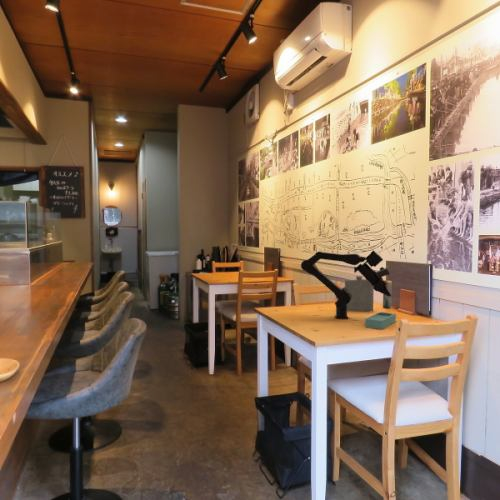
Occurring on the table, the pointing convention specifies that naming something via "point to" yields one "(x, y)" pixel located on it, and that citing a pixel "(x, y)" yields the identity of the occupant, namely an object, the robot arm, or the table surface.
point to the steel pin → (386, 298)
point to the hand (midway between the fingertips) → (390, 295)
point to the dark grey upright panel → (360, 294)
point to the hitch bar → (380, 320)
